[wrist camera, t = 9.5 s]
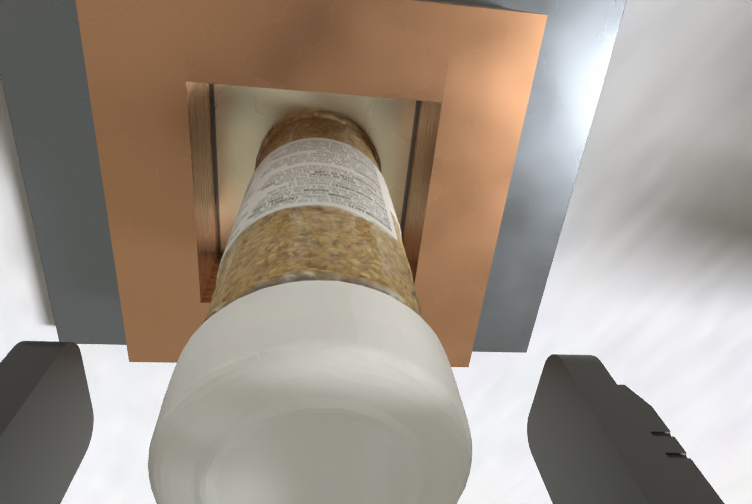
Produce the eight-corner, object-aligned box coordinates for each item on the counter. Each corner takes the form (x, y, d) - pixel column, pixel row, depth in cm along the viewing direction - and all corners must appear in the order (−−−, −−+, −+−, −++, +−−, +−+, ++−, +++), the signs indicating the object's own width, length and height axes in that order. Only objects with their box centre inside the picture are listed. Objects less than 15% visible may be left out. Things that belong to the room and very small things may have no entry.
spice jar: (352, 242, 20) (397, 609, 9) (238, 203, 19) (106, 567, 7) (401, 135, 19) (542, 412, 7) (278, 84, 17) (188, 313, 6)
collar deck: (624, -47, 18) (712, -54, 14) (518, 339, 25) (556, 407, 21) (-24, -128, 15) (-148, -164, 11) (70, 328, 22) (15, 405, 18)
